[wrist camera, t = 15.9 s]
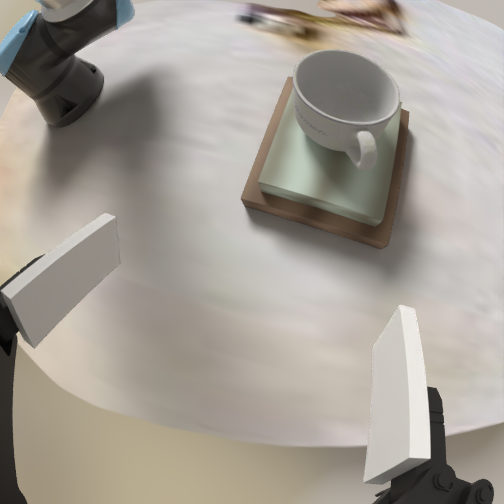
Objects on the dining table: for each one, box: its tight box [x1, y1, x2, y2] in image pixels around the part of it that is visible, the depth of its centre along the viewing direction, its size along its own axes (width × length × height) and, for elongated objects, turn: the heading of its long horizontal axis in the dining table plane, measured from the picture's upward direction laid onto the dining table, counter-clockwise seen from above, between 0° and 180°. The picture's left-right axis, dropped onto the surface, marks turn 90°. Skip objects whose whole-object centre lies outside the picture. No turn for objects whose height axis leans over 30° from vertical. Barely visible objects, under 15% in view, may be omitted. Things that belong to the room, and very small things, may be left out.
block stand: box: [241, 77, 409, 249], centre depth 34 cm, size 18×20×6 cm
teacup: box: [292, 49, 400, 170], centre depth 27 cm, size 14×11×8 cm
